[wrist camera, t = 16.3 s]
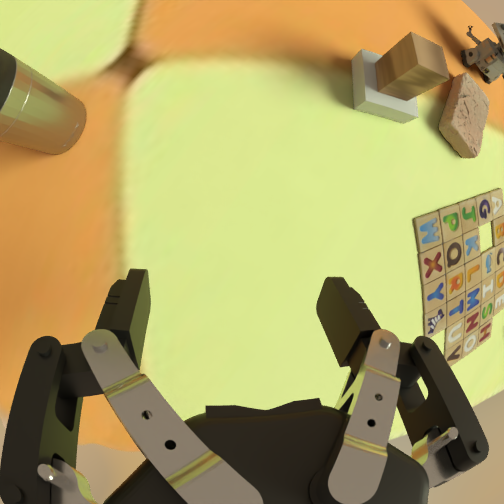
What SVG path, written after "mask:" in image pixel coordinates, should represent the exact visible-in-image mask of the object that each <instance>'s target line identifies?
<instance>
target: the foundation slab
mask: <svg viewBox="0 0 504 504" xmlns="http://www.w3.org/2000/svg"><path fill="white" fill-rule="evenodd" d="M381 57H382V55H379V54H376V53H373V52H370V51H367V50H364V49H361V50H360V51H359V52H358V53H357V54H356V56H355V57H354V58H353V59H352V60H351V63H352V78H353V101H354V110H358V111H362V112H366V113H370V114H373V115H377V116H381V117H384V118H388V119H391V120H394V121H397V122H401V123H406V122H409V121H411V120H413V119H416V118H418V108H417V98H416V97H414V98H412V99H410V100H408V101H404V100H401V99H398V98H395V97H392V96H389V95H386V94H383V93H379V92H378V89H377V79H376V70H375V62H377V61H378V60H379V59H380V58H381Z"/></svg>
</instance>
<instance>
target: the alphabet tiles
mask: <svg viewBox="0 0 504 504" xmlns="http://www.w3.org/2000/svg"><path fill="white" fill-rule="evenodd" d="M490 221H491V224H492V237H493V247H491V248H489V249H487V250H486V251H484V252H482V253H481V252H480V236H479V228H478V226H481V225H484V224H486V223H488V222H490ZM414 226H415V232H416V239H417V246H418V252H419V254H418V257H419V265H420V273H421V283H422V293H423V309H424V336H426V337H428V338H430V337H432V336H434V335H435V334H437V333H439V332H440V331H442V330H444V329H445V351H444V358H445V359H446V361H447V363H448V364H449V366H452V365H453V364H455V363H456V362H458V361H459V360H460V359H462V358H464V357H465V356H467V355H468V354H469V353H471V352H472V351H473V350H475V349H476V348H477V347H478V346H480V345H481V344H482V343H484V342H485V341H486V340H487V339H489V338H490V337H491V329H492V320H493V318H492V317H493V316H495V315H496V314H497V313H498V312H500V311H501V310H502V309H503V308H504V202H503V193H502V189H501V188H498V189H495V190H492V191H489V192H488V193H484V194H481V195H478V196H475V197H474V198H470V199H468V200H465V201H462V202H459V203H457V204H453V205H450V206H447V207H444V208H441V209H438V210H437V211H434V212H431V213H428V214H425V215H422V216H419V217H417V218H414Z"/></svg>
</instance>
